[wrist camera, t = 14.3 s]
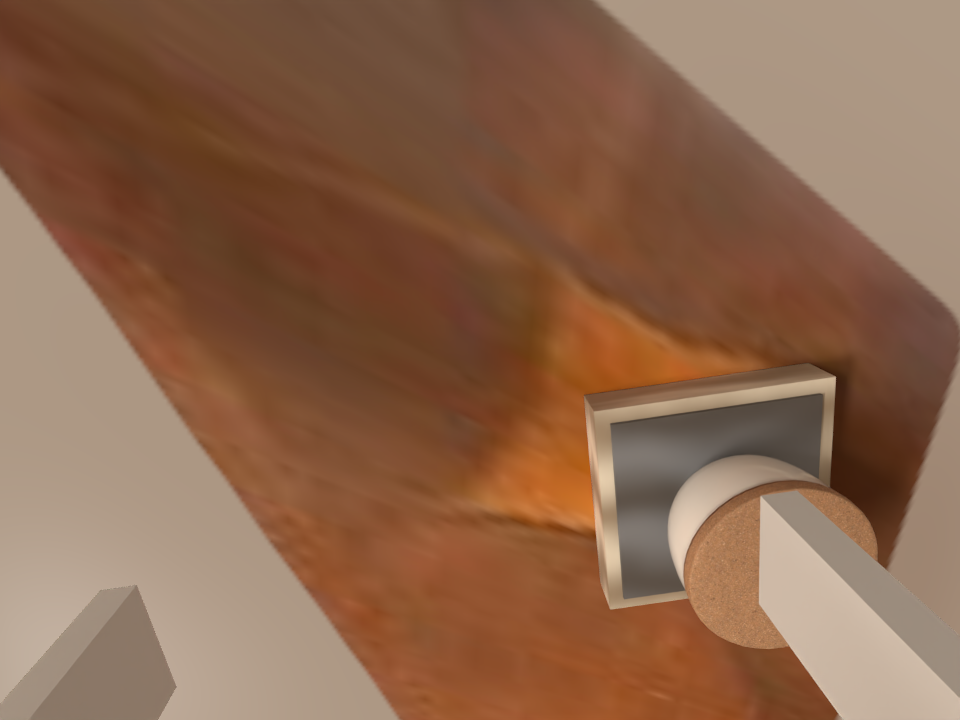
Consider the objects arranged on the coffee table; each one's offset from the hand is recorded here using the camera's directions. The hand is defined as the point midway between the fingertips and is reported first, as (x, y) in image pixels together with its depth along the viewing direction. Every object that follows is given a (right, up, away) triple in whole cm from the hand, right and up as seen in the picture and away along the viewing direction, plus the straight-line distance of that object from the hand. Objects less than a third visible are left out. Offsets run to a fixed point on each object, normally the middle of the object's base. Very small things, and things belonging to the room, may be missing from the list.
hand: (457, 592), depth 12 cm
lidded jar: (+17, -5, +27) cm, 32 cm away
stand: (+17, -4, +30) cm, 35 cm away
